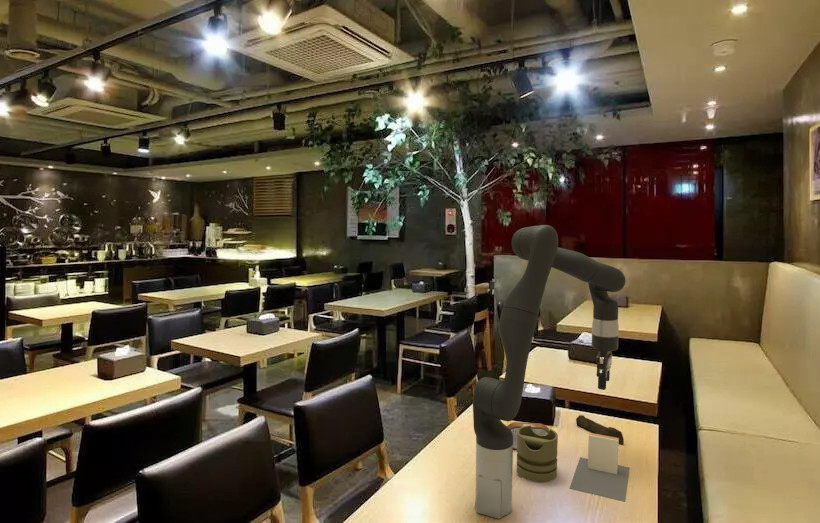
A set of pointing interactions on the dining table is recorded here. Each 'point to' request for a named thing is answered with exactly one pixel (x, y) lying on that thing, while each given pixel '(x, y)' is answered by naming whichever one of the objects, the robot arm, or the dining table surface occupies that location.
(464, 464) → the dining table surface
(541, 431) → the tin
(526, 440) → the piston
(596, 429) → the hand tool
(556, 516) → the dining table surface
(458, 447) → the dining table surface
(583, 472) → the mat
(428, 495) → the dining table surface
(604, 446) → the tile
